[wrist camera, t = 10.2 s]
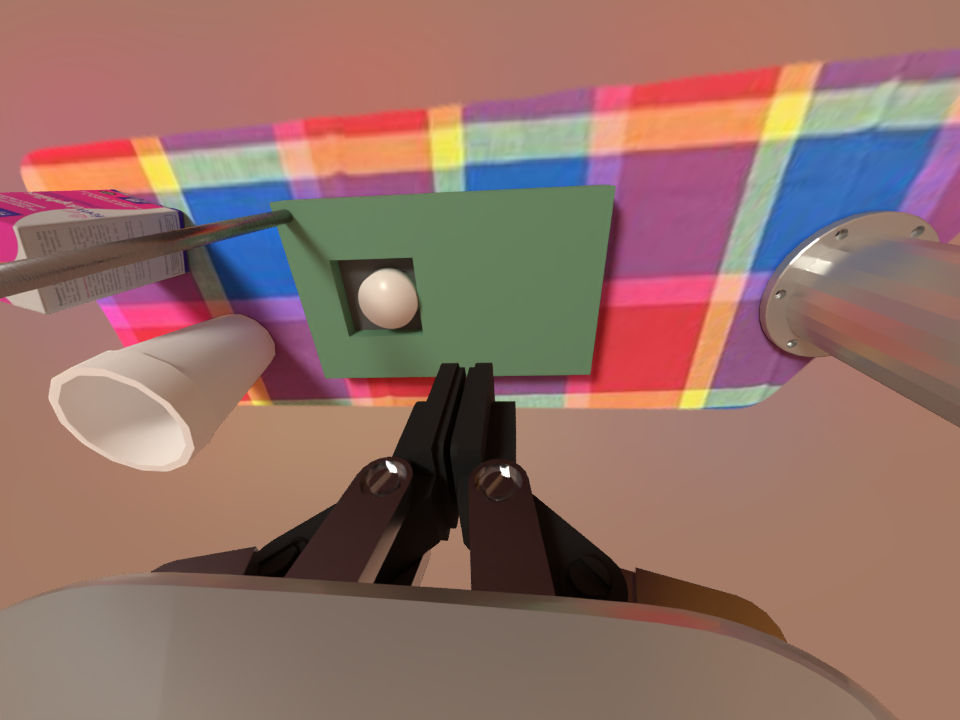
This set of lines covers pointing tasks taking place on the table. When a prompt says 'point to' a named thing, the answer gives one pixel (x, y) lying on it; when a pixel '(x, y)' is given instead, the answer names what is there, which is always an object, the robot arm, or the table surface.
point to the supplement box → (84, 241)
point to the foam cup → (162, 391)
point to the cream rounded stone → (389, 297)
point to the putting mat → (415, 275)
